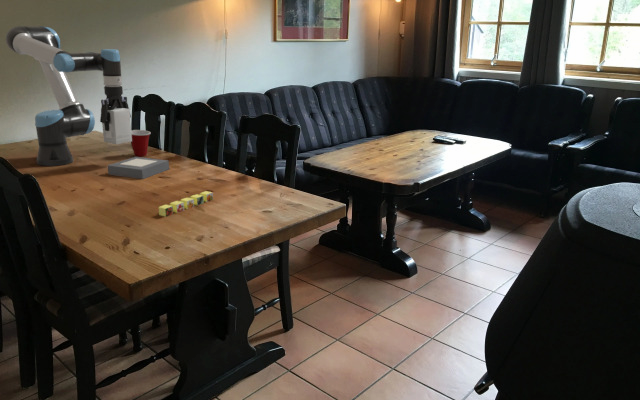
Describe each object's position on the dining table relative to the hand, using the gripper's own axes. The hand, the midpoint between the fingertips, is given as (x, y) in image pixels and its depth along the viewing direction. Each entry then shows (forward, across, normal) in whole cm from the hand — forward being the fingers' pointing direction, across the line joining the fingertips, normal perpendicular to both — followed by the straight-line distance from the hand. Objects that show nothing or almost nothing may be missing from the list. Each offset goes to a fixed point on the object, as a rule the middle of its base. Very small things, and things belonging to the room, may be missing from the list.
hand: (117, 135), depth 238 cm
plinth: (+13, -7, -17) cm, 22 cm away
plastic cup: (+14, +19, +3) cm, 24 cm away
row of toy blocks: (+13, -39, -66) cm, 77 cm away
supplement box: (+3, 0, 0) cm, 3 cm away
